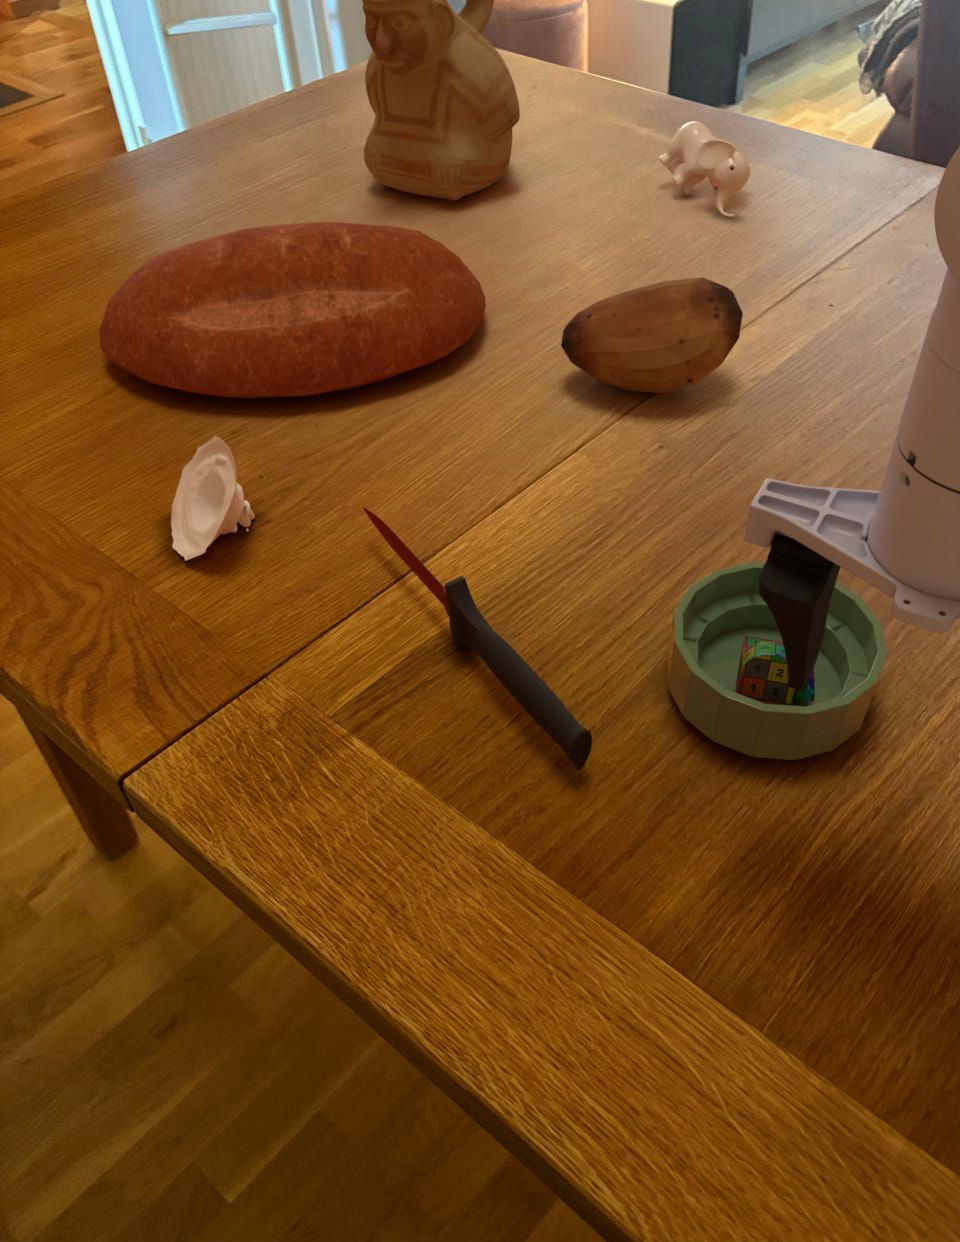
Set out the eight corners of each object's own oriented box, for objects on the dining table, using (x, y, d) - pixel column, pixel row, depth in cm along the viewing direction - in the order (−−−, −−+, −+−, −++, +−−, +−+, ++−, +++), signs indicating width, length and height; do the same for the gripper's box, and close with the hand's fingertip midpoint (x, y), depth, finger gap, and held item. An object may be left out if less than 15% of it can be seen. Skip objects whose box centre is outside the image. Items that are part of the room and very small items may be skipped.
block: (813, 722, 53) (828, 664, 51) (733, 707, 54) (745, 649, 52) (812, 670, 58) (825, 616, 57) (739, 656, 59) (750, 603, 57)
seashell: (246, 577, 72) (275, 545, 65) (168, 573, 70) (190, 539, 63) (245, 469, 74) (273, 426, 66) (169, 461, 71) (190, 416, 64)
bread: (506, 389, 80) (503, 283, 74) (91, 437, 78) (51, 332, 71) (468, 255, 96) (463, 158, 89) (121, 292, 93) (91, 195, 87)
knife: (592, 771, 55) (596, 712, 51) (570, 784, 54) (572, 725, 50) (376, 531, 69) (367, 472, 65) (357, 540, 68) (347, 480, 65)
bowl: (889, 656, 59) (909, 600, 56) (833, 797, 53) (852, 743, 50) (708, 594, 63) (717, 540, 60) (635, 718, 57) (641, 665, 54)
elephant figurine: (697, 221, 97) (753, 171, 94) (638, 135, 101) (690, 84, 98) (727, 249, 103) (780, 203, 100) (670, 166, 107) (720, 119, 104)
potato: (580, 428, 81) (563, 335, 83) (752, 388, 79) (731, 293, 80) (566, 395, 74) (548, 293, 75) (756, 349, 71) (733, 245, 73)
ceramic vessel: (327, 197, 106) (284, -93, 88) (433, 130, 117) (413, -140, 99) (467, 231, 99) (451, -75, 81) (564, 156, 110) (569, -127, 92)
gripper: (737, 455, 35) (695, 707, 45) (1220, 590, 30) (1053, 844, 39) (802, 354, 39) (751, 606, 49) (1236, 457, 34) (1082, 717, 44)
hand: (888, 705), depth 44 cm, fingers open, 7 cm apart
